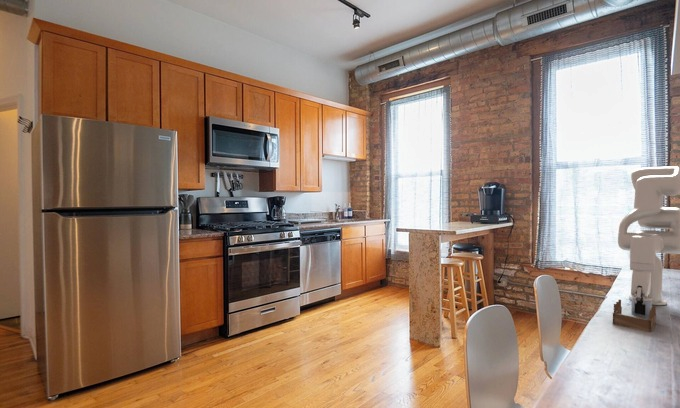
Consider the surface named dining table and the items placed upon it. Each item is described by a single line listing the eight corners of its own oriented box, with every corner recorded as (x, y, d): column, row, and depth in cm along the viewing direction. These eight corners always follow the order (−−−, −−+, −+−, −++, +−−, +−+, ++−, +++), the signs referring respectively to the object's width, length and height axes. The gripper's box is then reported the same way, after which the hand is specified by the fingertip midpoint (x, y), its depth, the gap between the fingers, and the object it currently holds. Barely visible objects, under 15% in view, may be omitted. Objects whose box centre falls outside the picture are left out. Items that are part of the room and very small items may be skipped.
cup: (632, 310, 144) (633, 293, 144) (652, 314, 139) (653, 297, 139) (630, 314, 140) (630, 296, 140) (650, 318, 135) (650, 300, 135)
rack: (619, 316, 138) (619, 298, 137) (656, 323, 130) (656, 304, 129) (612, 323, 130) (612, 305, 129) (651, 332, 122) (651, 312, 121)
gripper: (634, 262, 148) (633, 305, 148) (625, 268, 136) (624, 314, 137) (658, 265, 142) (657, 309, 143) (651, 271, 131) (650, 319, 131)
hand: (641, 311), depth 140 cm, fingers closed on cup, 6 cm apart
